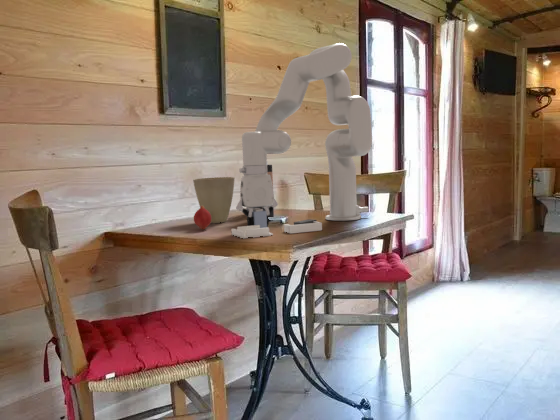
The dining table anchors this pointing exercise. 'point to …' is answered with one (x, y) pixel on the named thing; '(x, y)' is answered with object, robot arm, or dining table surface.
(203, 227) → the onion
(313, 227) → the clip
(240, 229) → the holder
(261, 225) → the block
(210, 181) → the plant pot
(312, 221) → the dark grey bar
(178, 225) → the dining table surface
